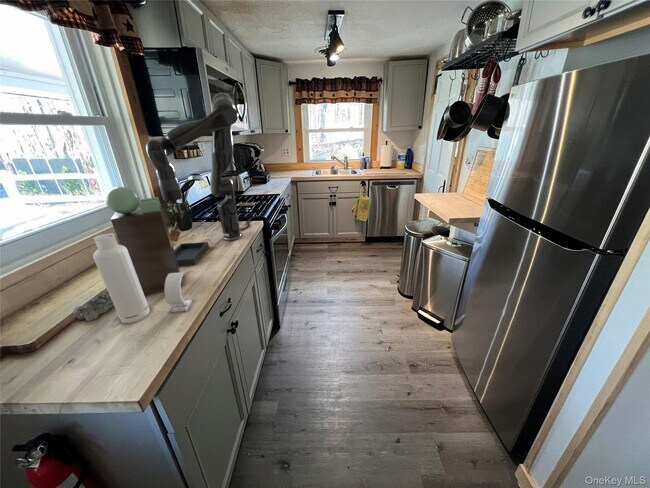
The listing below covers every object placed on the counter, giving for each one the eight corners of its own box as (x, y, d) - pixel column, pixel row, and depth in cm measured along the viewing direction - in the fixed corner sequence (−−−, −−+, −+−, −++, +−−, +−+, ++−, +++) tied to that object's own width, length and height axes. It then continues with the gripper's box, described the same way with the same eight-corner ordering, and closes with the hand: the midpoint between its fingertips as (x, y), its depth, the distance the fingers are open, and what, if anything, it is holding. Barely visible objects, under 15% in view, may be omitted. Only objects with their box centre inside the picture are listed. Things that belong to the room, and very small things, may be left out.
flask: (113, 212, 90) (103, 186, 86) (161, 206, 97) (153, 181, 93) (108, 219, 83) (98, 191, 79) (160, 211, 89) (153, 185, 86)
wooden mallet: (167, 240, 116) (178, 242, 119) (177, 211, 114) (189, 214, 118) (164, 236, 119) (176, 238, 123) (175, 208, 117) (186, 211, 121)
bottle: (155, 309, 88) (127, 232, 76) (132, 325, 81) (98, 243, 69) (138, 305, 90) (108, 230, 79) (114, 320, 83) (78, 240, 72)
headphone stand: (191, 301, 91) (183, 272, 86) (185, 312, 86) (175, 281, 81) (178, 302, 91) (169, 273, 86) (170, 313, 85) (160, 282, 80)
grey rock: (90, 322, 82) (85, 312, 81) (73, 319, 84) (68, 309, 83) (122, 302, 92) (118, 293, 90) (106, 299, 94) (102, 290, 92)
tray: (182, 249, 134) (180, 243, 133) (209, 247, 135) (207, 241, 134) (164, 267, 116) (162, 260, 115) (195, 264, 117) (193, 258, 116)
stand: (141, 284, 103) (115, 212, 91) (181, 275, 109) (161, 205, 97) (140, 297, 95) (110, 219, 83) (182, 285, 101) (160, 212, 89)
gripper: (160, 187, 116) (170, 223, 123) (160, 192, 105) (171, 232, 112) (179, 185, 120) (188, 220, 126) (180, 190, 109) (190, 228, 116)
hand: (180, 226), depth 119 cm, fingers closed on wooden mallet
